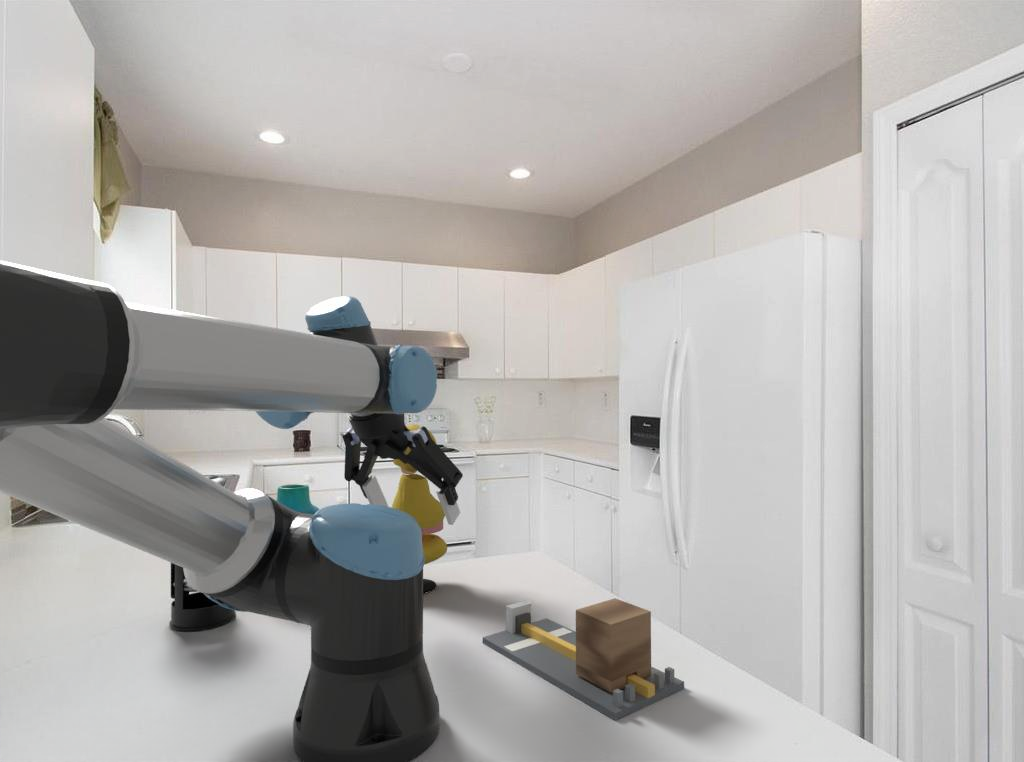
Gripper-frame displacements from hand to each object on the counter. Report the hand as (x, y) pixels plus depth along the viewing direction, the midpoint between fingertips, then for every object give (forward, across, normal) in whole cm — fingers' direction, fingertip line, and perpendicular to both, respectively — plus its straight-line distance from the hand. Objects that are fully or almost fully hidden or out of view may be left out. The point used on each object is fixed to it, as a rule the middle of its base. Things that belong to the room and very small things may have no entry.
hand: (417, 515), depth 97 cm
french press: (+7, +32, +21) cm, 38 cm away
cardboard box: (+10, -34, +14) cm, 38 cm away
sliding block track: (+12, -27, +12) cm, 32 cm away
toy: (+22, +11, -4) cm, 25 cm away
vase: (+15, +28, +7) cm, 33 cm away
